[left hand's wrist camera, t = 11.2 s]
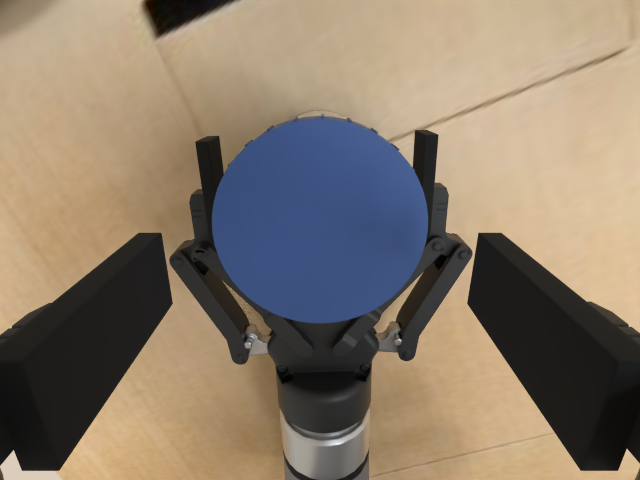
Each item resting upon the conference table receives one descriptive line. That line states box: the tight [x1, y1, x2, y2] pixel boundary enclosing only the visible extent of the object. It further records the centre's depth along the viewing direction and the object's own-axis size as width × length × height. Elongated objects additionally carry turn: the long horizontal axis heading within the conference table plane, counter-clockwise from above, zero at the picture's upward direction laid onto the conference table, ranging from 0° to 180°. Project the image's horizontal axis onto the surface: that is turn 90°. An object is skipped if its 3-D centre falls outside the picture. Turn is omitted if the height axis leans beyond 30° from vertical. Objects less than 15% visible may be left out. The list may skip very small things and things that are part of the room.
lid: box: [212, 114, 428, 323], centre depth 18 cm, size 10×10×2 cm
